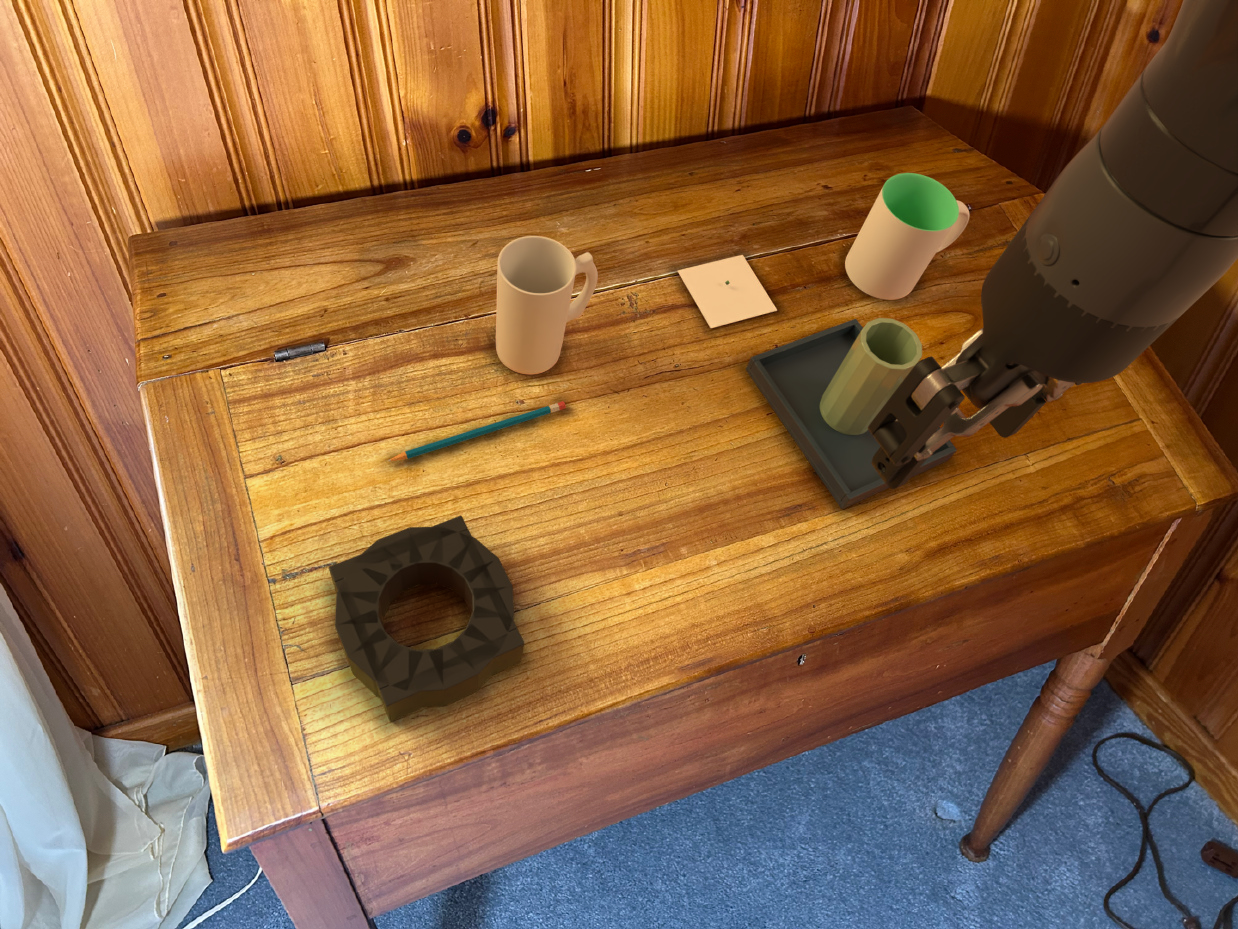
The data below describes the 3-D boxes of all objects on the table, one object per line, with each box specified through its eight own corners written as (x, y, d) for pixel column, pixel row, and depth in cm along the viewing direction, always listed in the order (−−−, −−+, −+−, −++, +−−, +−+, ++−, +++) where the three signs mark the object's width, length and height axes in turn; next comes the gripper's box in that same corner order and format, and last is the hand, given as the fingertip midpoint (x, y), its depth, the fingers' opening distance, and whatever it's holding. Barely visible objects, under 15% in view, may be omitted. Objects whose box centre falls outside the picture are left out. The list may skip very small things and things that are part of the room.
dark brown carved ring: (538, 663, 74) (542, 644, 70) (378, 737, 69) (374, 722, 66) (470, 527, 79) (471, 502, 75) (318, 587, 75) (310, 565, 71)
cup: (885, 423, 91) (935, 357, 81) (840, 443, 89) (885, 377, 79) (853, 380, 93) (898, 310, 83) (808, 398, 91) (848, 328, 81)
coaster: (710, 328, 94) (712, 323, 93) (677, 270, 97) (678, 265, 97) (777, 310, 97) (779, 305, 96) (742, 254, 100) (744, 249, 99)
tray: (947, 461, 90) (957, 450, 88) (841, 509, 86) (849, 499, 84) (848, 330, 97) (855, 318, 95) (745, 369, 92) (750, 357, 90)
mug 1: (512, 387, 87) (519, 305, 77) (480, 335, 89) (483, 248, 79) (604, 352, 91) (622, 269, 80) (571, 302, 93) (585, 216, 83)
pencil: (565, 410, 86) (566, 406, 86) (388, 467, 81) (388, 463, 80) (562, 403, 87) (562, 399, 86) (385, 459, 81) (384, 455, 80)
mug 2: (917, 230, 106) (959, 159, 97) (956, 281, 103) (1004, 213, 94) (831, 252, 102) (867, 181, 93) (869, 307, 99) (910, 238, 90)
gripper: (1052, 371, 35) (885, 549, 49) (1282, 270, 40) (1072, 458, 54) (935, 233, 38) (808, 438, 52) (1163, 156, 43) (992, 361, 57)
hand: (943, 448), depth 53 cm, fingers open, 8 cm apart
